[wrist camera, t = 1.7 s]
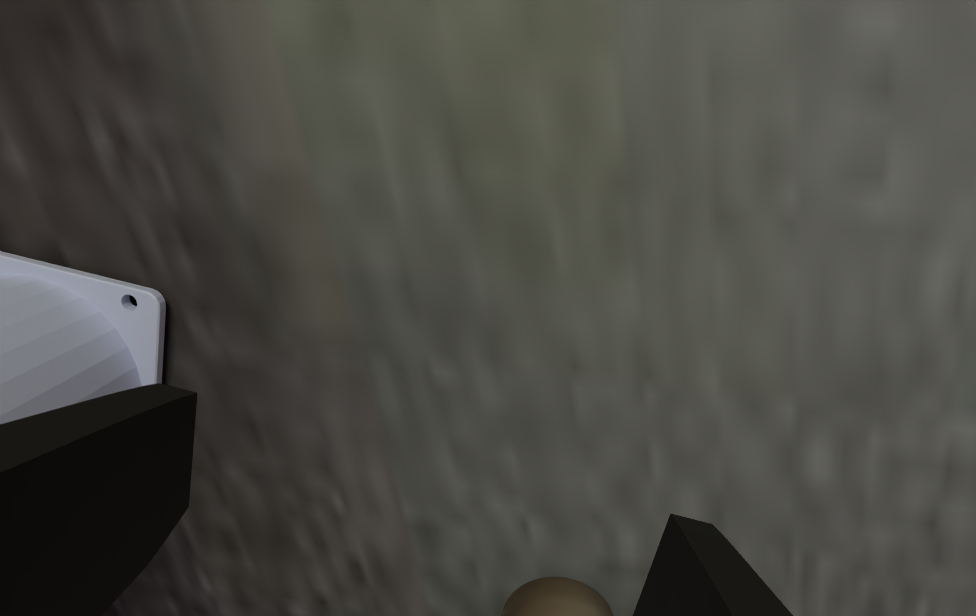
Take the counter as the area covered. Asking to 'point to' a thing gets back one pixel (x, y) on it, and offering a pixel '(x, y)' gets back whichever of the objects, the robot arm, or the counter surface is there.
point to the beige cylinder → (556, 599)
